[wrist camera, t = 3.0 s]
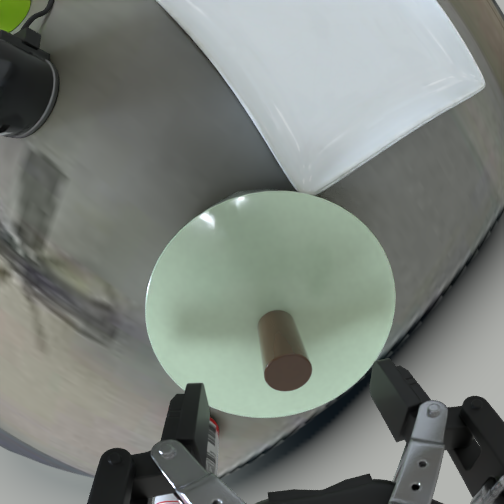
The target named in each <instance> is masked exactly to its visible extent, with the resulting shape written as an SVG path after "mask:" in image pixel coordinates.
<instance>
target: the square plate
mask: <svg viewBox="0 0 504 504" xmlns="http://www.w3.org/2000/svg"><path fill="white" fill-rule="evenodd" d="M156 1H157V2H158V3H159V4H160V5H161V6H162V7H163V8H164V9H165V10H166V11H167V12H168V14H169V15H170V16H171V17H172V18H173V19H174V20H175V21H176V22H177V23H178V24H179V25H180V26H181V27H182V28H183V29H184V30H185V32H186V33H187V34H188V35H189V36H190V37H191V38H192V40H193V41H194V42H195V43H196V44H197V45H198V47H199V48H200V49H201V50H202V51H203V52H204V54H205V55H206V56H207V57H208V59H209V60H210V61H211V62H212V64H213V65H214V66H215V67H216V69H217V70H218V71H219V73H220V74H221V75H222V77H223V78H224V80H225V81H226V82H227V84H228V85H229V86H230V88H231V89H232V90H233V92H234V93H235V95H236V96H237V98H238V99H239V101H240V102H241V104H242V105H243V107H244V108H245V110H246V112H247V113H248V115H249V116H250V118H251V119H252V121H253V122H254V124H255V126H256V127H257V129H258V130H259V132H260V133H261V135H262V137H263V138H264V140H265V142H266V143H267V145H268V147H269V148H270V150H271V152H272V153H273V155H274V157H275V158H276V160H277V161H278V163H279V165H280V166H281V168H282V170H283V171H284V173H285V174H286V176H287V178H288V179H289V181H290V182H291V184H292V185H293V186H294V188H295V189H296V190H297V192H301V193H306V194H309V195H313V196H315V195H317V194H319V193H321V192H322V191H324V190H326V189H327V188H329V187H330V186H332V185H333V184H335V183H336V182H338V181H340V180H341V179H343V178H344V177H346V176H347V175H348V174H350V173H351V172H353V171H354V170H356V169H357V168H359V167H360V166H362V165H363V164H365V163H366V162H368V161H369V160H371V159H372V158H374V157H375V156H377V155H378V154H380V153H381V152H383V151H384V150H386V149H387V148H389V147H390V146H392V145H393V144H395V143H396V142H398V141H399V140H401V139H402V138H404V137H405V136H407V135H408V134H410V133H411V132H413V131H415V130H416V129H418V128H419V127H421V126H422V125H424V124H426V123H427V122H429V121H431V120H432V119H434V118H435V117H437V116H439V115H440V114H442V113H444V112H446V111H447V110H449V109H451V108H453V107H454V106H456V105H458V104H460V103H461V102H463V101H465V100H467V99H468V98H470V97H472V96H473V95H475V94H477V93H478V92H480V91H481V90H482V89H484V88H485V81H484V78H483V76H482V73H481V72H480V70H479V68H478V66H477V64H476V62H475V60H474V58H473V56H472V55H471V53H470V51H469V49H468V48H467V46H466V44H465V43H464V41H463V39H462V38H461V36H460V34H459V33H458V31H457V30H456V28H455V27H454V25H453V23H452V22H451V20H450V19H449V18H448V16H447V15H446V13H445V12H444V10H443V9H442V7H441V6H440V5H439V3H438V2H437V1H436V0H156Z"/></svg>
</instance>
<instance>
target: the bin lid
mask: <svg viewBox="0 0 504 504" xmlns="http://www.w3.org/2000/svg"><path fill="white" fill-rule="evenodd" d="M395 295H396V294H395V284H394V278H393V274H392V270H391V266H390V263H389V261H388V258H387V256H386V254H385V251H384V250H383V248H382V246H381V245H380V243H379V241H378V240H377V238H376V237H375V236H374V235H373V233H372V232H371V231H370V230H369V229H368V227H367V226H366V225H365V224H363V223H362V222H361V221H360V220H359V219H358V218H357V217H356V216H354V215H353V214H351V213H350V212H348V211H347V210H345V209H344V208H342V207H341V206H339V205H337V204H334V203H332V202H330V201H328V200H325V199H323V198H320V197H316V196H313V195H309V194H306V193H301V192H293V191H285V190H277V191H260V192H254V193H247V194H244V195H240V196H237V197H233V198H230V199H227V200H225V201H223V202H221V203H219V204H216V205H214V206H212V207H210V208H209V209H207V210H205V211H204V212H202V213H201V214H199V215H198V216H196V217H195V218H193V219H192V220H191V221H190V222H189V223H188V224H186V225H185V226H184V227H183V228H182V229H181V230H180V231H179V232H178V233H177V234H176V235H175V237H174V238H173V239H172V240H171V241H170V242H169V243H168V245H167V246H166V248H165V249H164V251H163V252H162V254H161V256H160V257H159V259H158V261H157V263H156V265H155V267H154V270H153V272H152V274H151V278H150V281H149V285H148V288H147V295H146V303H145V316H146V325H147V331H148V336H149V339H150V342H151V345H152V348H153V350H154V352H155V354H156V356H157V358H158V360H159V362H160V364H161V365H162V367H163V368H164V369H165V371H166V372H167V374H168V375H169V376H170V377H171V378H172V379H173V380H174V381H175V383H176V384H177V385H178V386H180V387H181V388H182V389H183V390H184V391H185V389H186V385H187V383H203V384H204V387H205V391H206V396H207V400H208V405H209V406H210V407H212V408H215V409H218V410H220V411H223V412H226V413H230V414H234V415H239V416H245V417H254V418H272V417H283V416H289V415H294V414H298V413H302V412H305V411H309V410H311V409H314V408H316V407H319V406H321V405H323V404H325V403H327V402H329V401H331V400H333V399H335V398H336V397H338V396H339V395H341V394H342V393H344V392H345V391H347V390H348V389H349V388H350V387H351V386H353V385H354V384H355V383H356V382H357V381H358V380H359V379H360V378H361V377H362V376H363V375H364V374H365V373H366V372H367V371H368V370H369V368H370V367H371V366H372V364H373V363H374V362H375V360H376V359H377V357H378V356H379V354H380V352H381V351H382V349H383V347H384V345H385V342H386V340H387V338H388V336H389V332H390V329H391V326H392V323H393V317H394V311H395Z"/></svg>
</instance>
